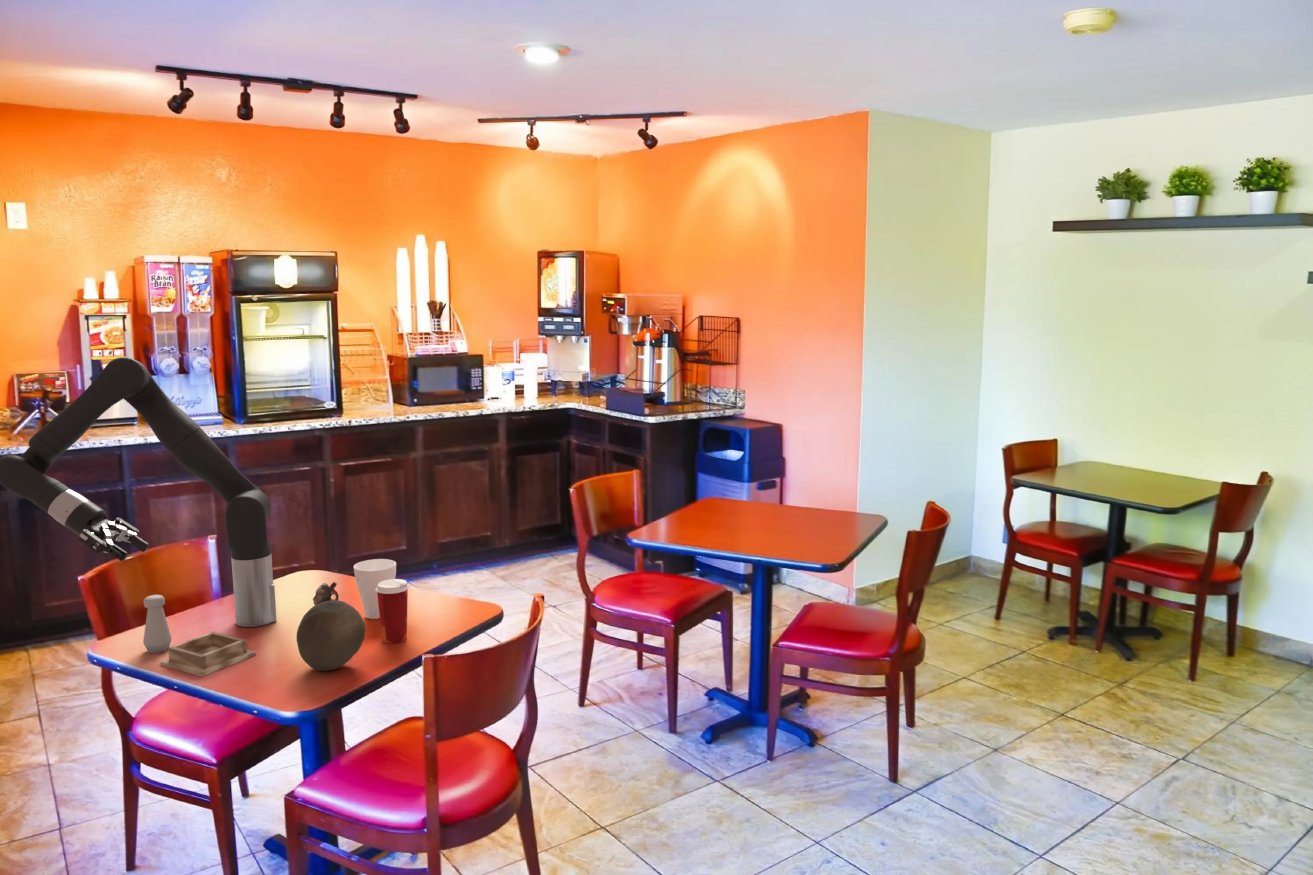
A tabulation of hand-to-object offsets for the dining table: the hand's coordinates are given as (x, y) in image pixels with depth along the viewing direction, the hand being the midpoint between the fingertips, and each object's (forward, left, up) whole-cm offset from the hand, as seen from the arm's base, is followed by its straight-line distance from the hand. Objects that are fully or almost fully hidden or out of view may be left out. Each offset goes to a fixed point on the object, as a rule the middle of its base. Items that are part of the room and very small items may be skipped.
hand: (136, 553), depth 218 cm
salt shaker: (-3, +4, -23) cm, 23 cm away
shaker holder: (-13, +16, -23) cm, 30 cm away
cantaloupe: (-37, +34, -23) cm, 55 cm away
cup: (-53, +4, -23) cm, 58 cm away
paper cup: (-53, +23, -23) cm, 62 cm away
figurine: (-40, +9, -23) cm, 47 cm away
